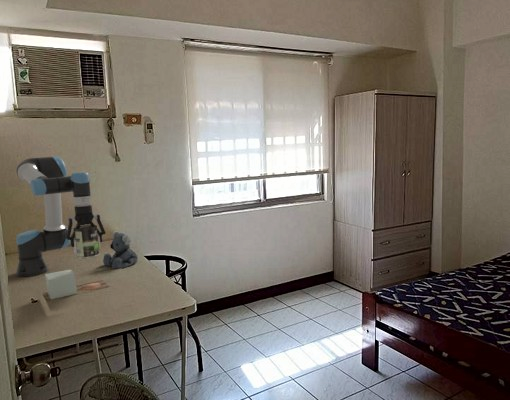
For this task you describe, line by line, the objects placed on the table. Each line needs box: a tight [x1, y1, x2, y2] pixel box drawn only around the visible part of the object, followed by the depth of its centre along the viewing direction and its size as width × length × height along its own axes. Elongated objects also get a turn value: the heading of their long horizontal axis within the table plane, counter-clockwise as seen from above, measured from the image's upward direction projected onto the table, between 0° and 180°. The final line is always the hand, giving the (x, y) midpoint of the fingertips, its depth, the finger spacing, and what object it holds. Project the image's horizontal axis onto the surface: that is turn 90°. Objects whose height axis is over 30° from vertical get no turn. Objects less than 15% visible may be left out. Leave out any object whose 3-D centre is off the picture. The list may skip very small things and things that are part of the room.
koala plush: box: [102, 230, 139, 270], centre depth 237 cm, size 17×18×20 cm
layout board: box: [43, 280, 110, 302], centre depth 193 cm, size 13×27×2 cm, turn 124°
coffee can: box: [72, 224, 100, 260], centre depth 193 cm, size 10×10×14 cm
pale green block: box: [44, 269, 78, 300], centre depth 188 cm, size 11×11×9 cm
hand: (87, 251), depth 194 cm, fingers closed on coffee can, 10 cm apart
